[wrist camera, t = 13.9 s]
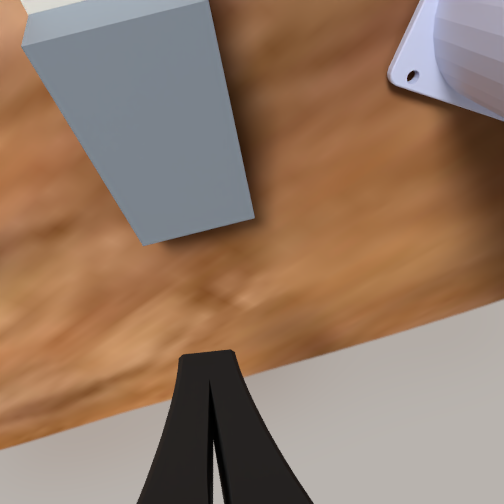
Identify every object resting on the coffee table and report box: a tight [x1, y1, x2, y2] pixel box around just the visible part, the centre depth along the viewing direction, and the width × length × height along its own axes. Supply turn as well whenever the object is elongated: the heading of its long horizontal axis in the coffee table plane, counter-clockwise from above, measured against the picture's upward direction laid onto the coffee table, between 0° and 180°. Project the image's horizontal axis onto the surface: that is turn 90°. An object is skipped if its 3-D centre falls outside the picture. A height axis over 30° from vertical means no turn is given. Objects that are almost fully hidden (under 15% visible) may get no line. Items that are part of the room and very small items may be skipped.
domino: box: [21, 0, 255, 246], centre depth 15 cm, size 2×5×9 cm
